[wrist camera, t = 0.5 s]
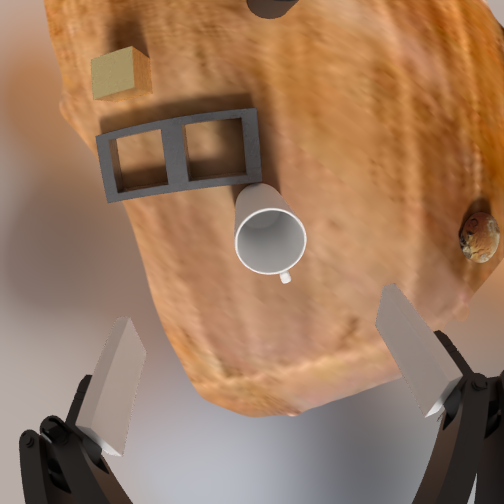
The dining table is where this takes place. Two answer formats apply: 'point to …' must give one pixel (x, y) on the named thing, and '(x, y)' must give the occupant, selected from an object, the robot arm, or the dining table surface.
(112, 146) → the grey flat frame
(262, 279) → the dining table surface
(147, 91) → the pale yellow block
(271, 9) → the coffee cup
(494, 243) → the bread roll
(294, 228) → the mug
